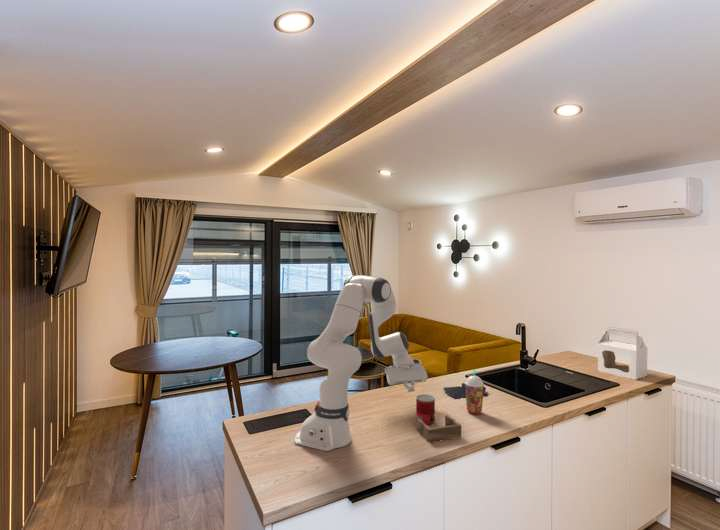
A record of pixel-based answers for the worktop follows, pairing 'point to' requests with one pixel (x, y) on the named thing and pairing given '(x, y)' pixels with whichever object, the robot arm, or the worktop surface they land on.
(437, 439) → the holder
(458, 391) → the dark slate chunk
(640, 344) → the gable box
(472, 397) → the smoothie
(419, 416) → the canned food
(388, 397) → the worktop surface
